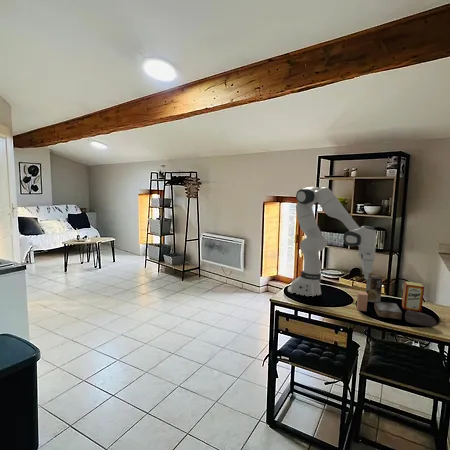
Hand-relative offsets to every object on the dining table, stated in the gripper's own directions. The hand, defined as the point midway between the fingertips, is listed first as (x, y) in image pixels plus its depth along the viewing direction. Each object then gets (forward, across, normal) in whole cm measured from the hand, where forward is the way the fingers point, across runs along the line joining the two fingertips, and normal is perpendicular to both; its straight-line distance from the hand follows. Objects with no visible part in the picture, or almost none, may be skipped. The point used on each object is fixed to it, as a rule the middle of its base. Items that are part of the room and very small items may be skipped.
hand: (364, 276), depth 192 cm
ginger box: (+21, -12, +29) cm, 38 cm away
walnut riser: (+20, +1, +14) cm, 25 cm away
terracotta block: (+20, 0, 0) cm, 20 cm away
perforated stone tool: (+21, +12, +27) cm, 37 cm away
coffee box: (+20, -18, +8) cm, 29 cm away
